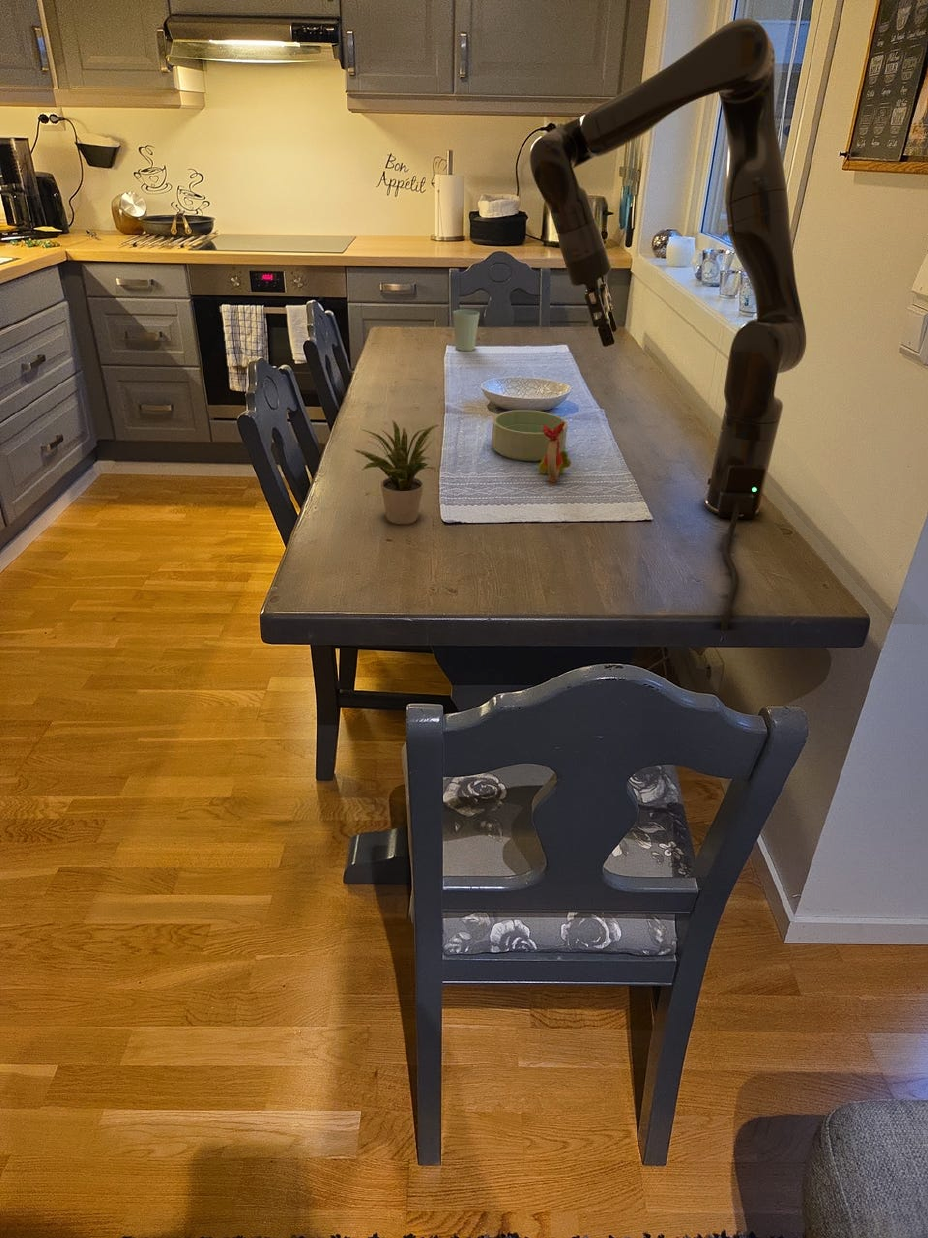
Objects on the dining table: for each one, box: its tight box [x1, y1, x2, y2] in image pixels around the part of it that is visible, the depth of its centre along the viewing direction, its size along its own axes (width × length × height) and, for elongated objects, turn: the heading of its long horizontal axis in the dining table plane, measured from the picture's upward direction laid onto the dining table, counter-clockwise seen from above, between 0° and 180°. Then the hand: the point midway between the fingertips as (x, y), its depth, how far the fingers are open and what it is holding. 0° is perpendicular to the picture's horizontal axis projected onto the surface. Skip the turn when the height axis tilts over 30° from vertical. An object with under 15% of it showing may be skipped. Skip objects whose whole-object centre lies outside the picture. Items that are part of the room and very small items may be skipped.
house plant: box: [354, 419, 440, 525], centre depth 139 cm, size 14×14×16 cm
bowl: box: [490, 409, 568, 462], centre depth 172 cm, size 15×15×6 cm
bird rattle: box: [538, 422, 572, 483], centre depth 158 cm, size 6×11×9 cm
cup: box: [452, 309, 480, 352], centre depth 245 cm, size 8×8×10 cm
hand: (610, 338), depth 157 cm, fingers open, 8 cm apart
